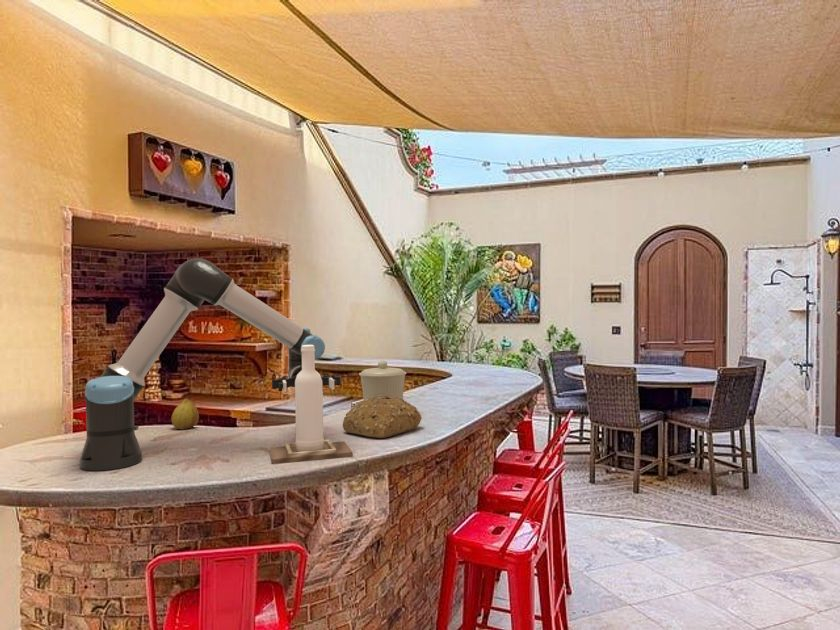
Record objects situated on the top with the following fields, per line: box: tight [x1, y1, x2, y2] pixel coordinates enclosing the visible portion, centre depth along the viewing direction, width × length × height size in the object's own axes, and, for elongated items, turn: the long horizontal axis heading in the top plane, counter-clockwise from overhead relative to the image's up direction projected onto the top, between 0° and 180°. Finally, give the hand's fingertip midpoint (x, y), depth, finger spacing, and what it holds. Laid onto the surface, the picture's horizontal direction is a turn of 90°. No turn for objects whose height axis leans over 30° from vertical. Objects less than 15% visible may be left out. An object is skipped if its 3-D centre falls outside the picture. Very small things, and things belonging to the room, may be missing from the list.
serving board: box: [269, 439, 354, 465], centre depth 168 cm, size 22×14×2 cm, turn 107°
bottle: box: [294, 345, 325, 452], centre depth 167 cm, size 8×8×30 cm
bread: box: [342, 395, 423, 439], centre depth 197 cm, size 24×21×12 cm
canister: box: [358, 360, 407, 400], centre depth 224 cm, size 18×18×21 cm
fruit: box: [170, 393, 200, 430], centre depth 207 cm, size 9×9×12 cm
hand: (309, 386), depth 168 cm, fingers open, 13 cm apart
